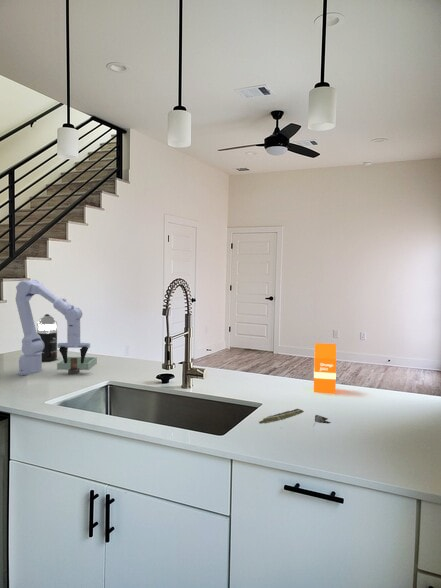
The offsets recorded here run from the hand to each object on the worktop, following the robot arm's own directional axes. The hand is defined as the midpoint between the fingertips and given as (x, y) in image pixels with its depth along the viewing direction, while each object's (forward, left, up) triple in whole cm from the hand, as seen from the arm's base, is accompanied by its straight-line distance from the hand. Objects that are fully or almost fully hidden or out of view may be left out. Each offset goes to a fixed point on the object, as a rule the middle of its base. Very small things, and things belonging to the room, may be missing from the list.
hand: (74, 363), depth 198 cm
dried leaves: (+92, -60, -6) cm, 110 cm away
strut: (0, 0, -5) cm, 5 cm away
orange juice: (+112, -21, -6) cm, 114 cm away
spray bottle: (-25, +33, -6) cm, 42 cm away
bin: (-3, +15, -6) cm, 16 cm away
